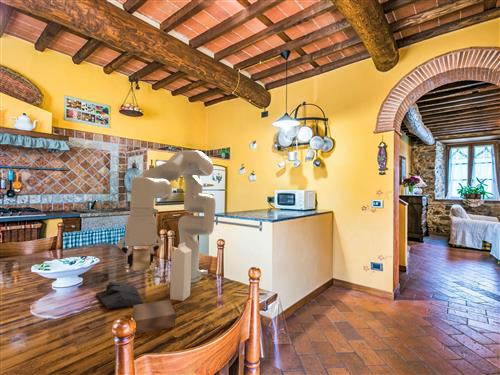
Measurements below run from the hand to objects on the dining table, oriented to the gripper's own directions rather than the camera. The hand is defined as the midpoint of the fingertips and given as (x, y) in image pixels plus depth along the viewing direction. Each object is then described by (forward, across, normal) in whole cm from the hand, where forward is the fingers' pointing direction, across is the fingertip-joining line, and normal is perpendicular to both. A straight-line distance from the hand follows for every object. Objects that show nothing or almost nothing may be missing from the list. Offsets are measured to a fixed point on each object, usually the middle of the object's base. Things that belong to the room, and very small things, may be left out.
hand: (140, 264), depth 89 cm
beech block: (+1, 0, +1) cm, 1 cm away
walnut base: (+18, -5, +5) cm, 19 cm away
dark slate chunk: (+18, +7, -19) cm, 27 cm away
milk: (+18, -16, -12) cm, 27 cm away
